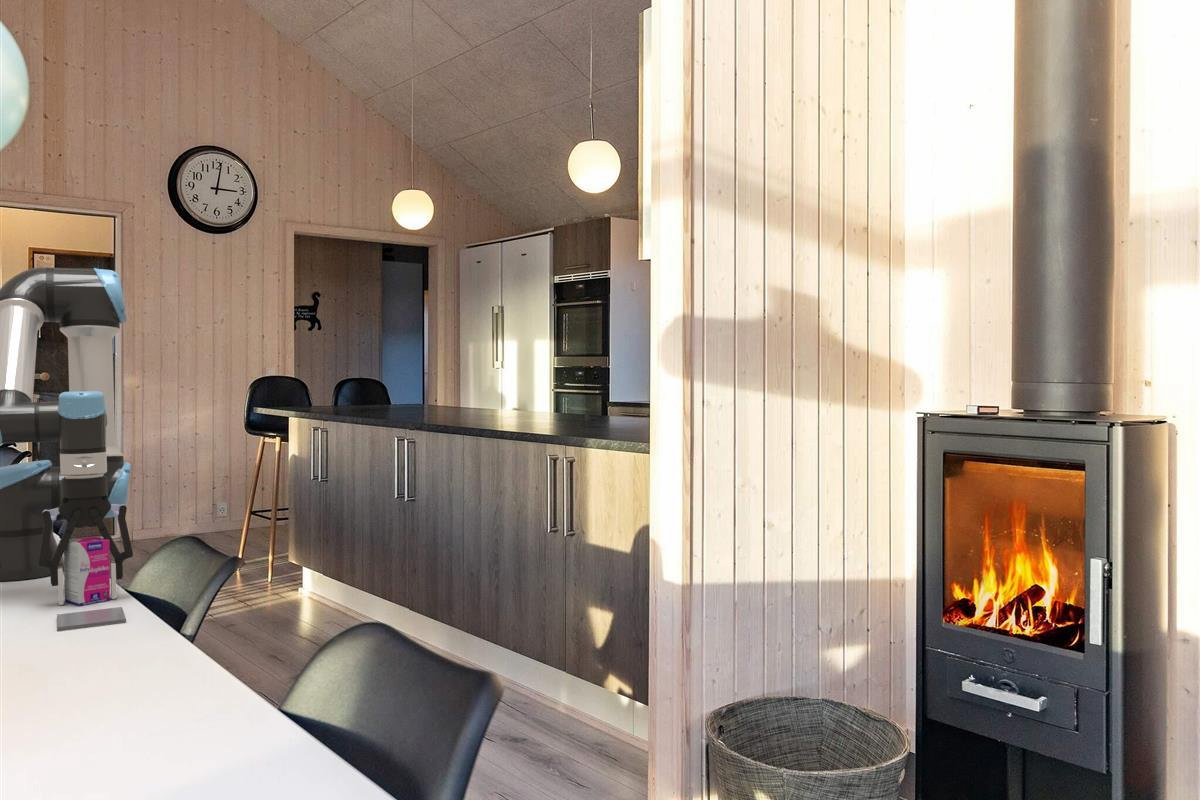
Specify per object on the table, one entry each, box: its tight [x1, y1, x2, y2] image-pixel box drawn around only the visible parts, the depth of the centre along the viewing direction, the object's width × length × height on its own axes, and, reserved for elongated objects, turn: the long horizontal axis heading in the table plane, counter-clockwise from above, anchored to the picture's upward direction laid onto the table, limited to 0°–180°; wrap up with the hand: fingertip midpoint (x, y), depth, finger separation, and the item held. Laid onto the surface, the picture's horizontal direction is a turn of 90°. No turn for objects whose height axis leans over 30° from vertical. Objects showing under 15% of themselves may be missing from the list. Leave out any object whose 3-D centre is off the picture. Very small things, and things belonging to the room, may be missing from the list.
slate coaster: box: [56, 606, 127, 632], centre depth 165 cm, size 10×10×1 cm
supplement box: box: [63, 535, 111, 607], centre depth 179 cm, size 6×6×12 cm
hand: (87, 600), depth 179 cm, fingers open, 8 cm apart
